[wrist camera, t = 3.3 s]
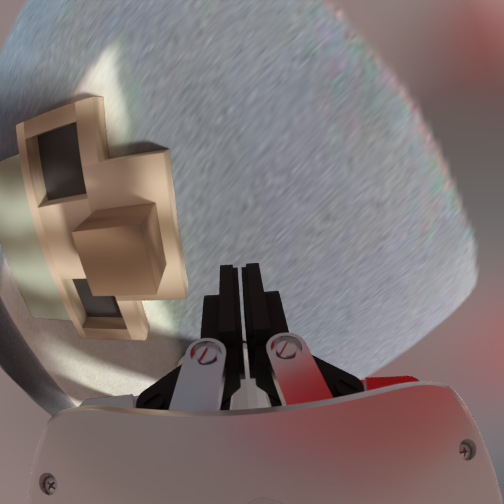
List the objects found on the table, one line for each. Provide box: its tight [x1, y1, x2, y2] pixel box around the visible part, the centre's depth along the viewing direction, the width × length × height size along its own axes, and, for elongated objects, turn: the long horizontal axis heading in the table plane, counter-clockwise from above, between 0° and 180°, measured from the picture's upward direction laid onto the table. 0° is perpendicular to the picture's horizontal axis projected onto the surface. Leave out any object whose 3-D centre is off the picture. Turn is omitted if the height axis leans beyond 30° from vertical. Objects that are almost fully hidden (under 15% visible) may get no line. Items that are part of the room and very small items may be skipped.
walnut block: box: [72, 203, 167, 296], centre depth 18 cm, size 5×5×4 cm
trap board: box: [0, 97, 188, 340], centre depth 20 cm, size 22×19×2 cm
